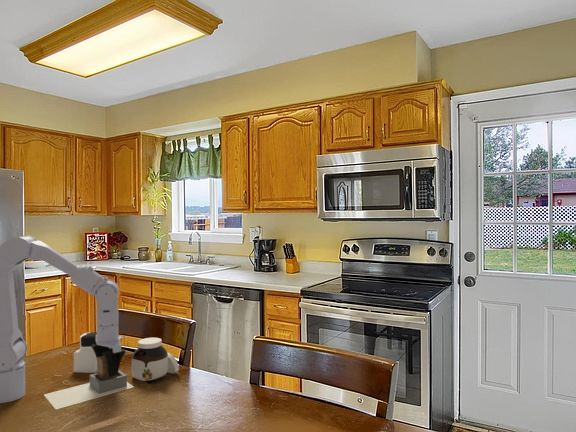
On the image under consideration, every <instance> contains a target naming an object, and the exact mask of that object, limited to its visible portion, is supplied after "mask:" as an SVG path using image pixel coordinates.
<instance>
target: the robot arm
mask: <svg viewBox="0 0 576 432" xmlns="http://www.w3.org/2000/svg"><path fill="white" fill-rule="evenodd" d="M27 260H29V261H43V262H45V263H47V264H48V265H51V266H52V267H54V268H56V269H58V270H59V271H60V272H63V273H65V274H66V275H68V276H69V277H70V281H71V284H74V285H75V286H77V287H79V288H80V289H82V290H83V291H84V292H86V293H88V294H89V295H91V296H92V295H93V296H94V298H95V300H96V301H97V303H96V305H97V306H96V307H97V308H96V332H97V335H96V344H93V345H91V347H92V349H93V350H94V352H95V355H96V358H97V357H100V356H104V357H105V360H106V363H107V370H108V375H109V377H112V376H115V375H117V374H118V370H120V365H121V361H122V359H123V357H124V355H125V354H126V349H124V348H122V344H121V342H120V341H123V340H124V337H122V336H121V335H120V336H119V329H120V328H119V325H120V324H119V323H120V322H119V317H120V315H119V309H120V308H119V306H118V305H119V300H118V296H119V294H120V287H119V284H117V282H115V280H113V279H109V277H107V276H103V275H101V274H100V273H98V272H97V271H95V270H94V269H95V268H94V267H93V266H91V265H90V266H87V265H80V266H79V265H77V264H76V263H74V262H73V261H71V260H70V259H68V258H67V257H65V256H64V255H63V254H61V253H60V252H58V251H57V250H55V249H54V248H53V247H52V246H50V245H48V244H47V243H45V242H44V241H41V240H40V239H39V240H37V238H35V236H33V235H32V236H31V235H21V236H13V237H10V238H8V239H7V240H5V241H4V242H3V243H2V244H0V404H4V403H9V402H10V403H11V402H13V401H16V400H19V399H21V398H23V397H25V395H26V361H25V360H24V356H25V355H26V354H27V352H28V345H27V343H26V341H25V340H24V337H23V333H22V331H21V330H20V327H19V323H18V321H19V319H18V311H17V309H18V308H17V302H16V301H17V300H16V290H15V279H14V271H15V270H17V268H18V267H19V266H20V265H21V264H23V262H25V261H27Z"/></svg>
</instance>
